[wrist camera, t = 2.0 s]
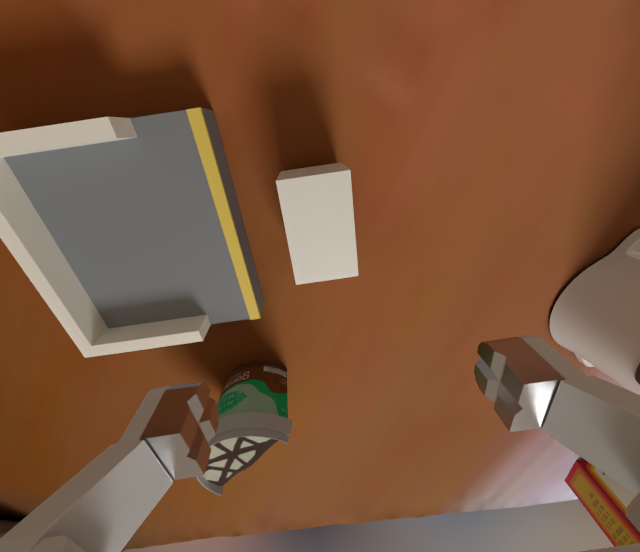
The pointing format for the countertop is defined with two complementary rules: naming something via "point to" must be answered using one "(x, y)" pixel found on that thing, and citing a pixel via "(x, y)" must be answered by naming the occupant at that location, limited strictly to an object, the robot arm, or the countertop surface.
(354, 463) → the countertop surface
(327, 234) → the white box on plinth
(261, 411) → the food container
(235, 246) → the dock
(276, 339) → the countertop surface
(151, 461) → the robot arm
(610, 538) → the baking soda box
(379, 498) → the countertop surface
